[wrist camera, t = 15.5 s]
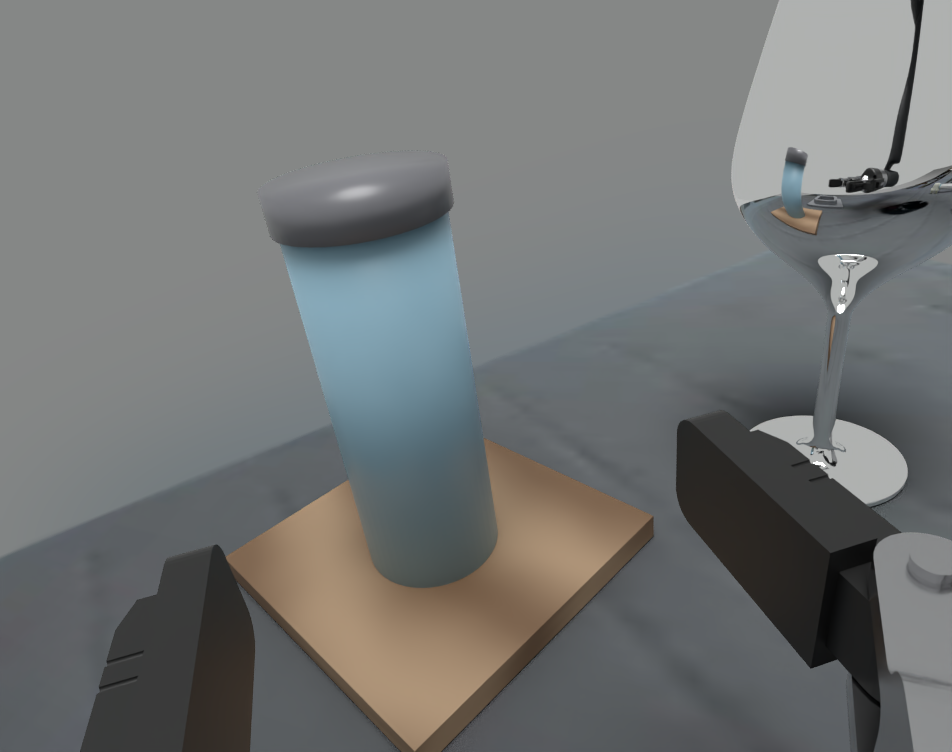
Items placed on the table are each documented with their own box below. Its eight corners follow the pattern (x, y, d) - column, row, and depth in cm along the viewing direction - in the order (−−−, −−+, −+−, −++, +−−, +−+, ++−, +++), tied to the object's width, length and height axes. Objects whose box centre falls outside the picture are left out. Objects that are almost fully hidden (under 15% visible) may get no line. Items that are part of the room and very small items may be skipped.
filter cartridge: (438, 475, 29) (371, 147, 22) (531, 527, 25) (487, 155, 18) (337, 547, 26) (223, 191, 19) (427, 618, 22) (327, 211, 15)
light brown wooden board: (447, 436, 34) (444, 419, 33) (653, 536, 26) (653, 516, 25) (231, 575, 27) (224, 557, 26) (420, 771, 19) (414, 750, 18)
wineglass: (923, 554, 23) (1082, -52, 14) (690, 490, 27) (706, -1, 19) (940, 432, 29) (1061, -56, 20) (744, 396, 33) (775, -16, 24)
